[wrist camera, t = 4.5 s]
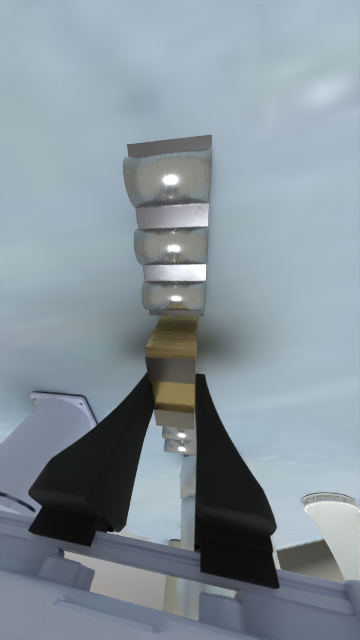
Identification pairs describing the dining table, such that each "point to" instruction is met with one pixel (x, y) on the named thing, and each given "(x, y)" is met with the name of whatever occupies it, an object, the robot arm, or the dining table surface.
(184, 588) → the plastic bottle
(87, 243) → the dining table surface
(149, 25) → the dining table surface
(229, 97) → the dining table surface
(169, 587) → the travel mug
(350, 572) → the vase
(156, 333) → the gold block
